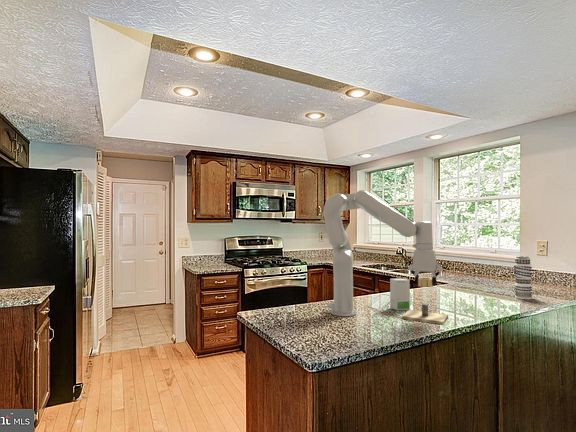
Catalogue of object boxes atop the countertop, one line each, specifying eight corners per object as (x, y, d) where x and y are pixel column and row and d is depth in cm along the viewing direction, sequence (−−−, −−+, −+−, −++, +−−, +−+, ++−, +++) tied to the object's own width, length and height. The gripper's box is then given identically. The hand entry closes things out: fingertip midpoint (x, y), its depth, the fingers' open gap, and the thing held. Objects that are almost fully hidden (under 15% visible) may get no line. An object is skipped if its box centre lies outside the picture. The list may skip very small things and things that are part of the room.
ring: (416, 286, 162) (416, 279, 162) (420, 284, 167) (419, 277, 168) (431, 287, 158) (431, 279, 158) (434, 285, 164) (434, 278, 164)
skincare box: (396, 310, 177) (396, 280, 177) (389, 307, 183) (389, 278, 183) (410, 309, 179) (410, 279, 179) (403, 306, 185) (402, 277, 186)
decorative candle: (517, 298, 204) (516, 256, 204) (512, 295, 212) (511, 255, 213) (535, 299, 201) (534, 257, 202) (529, 296, 210) (528, 255, 210)
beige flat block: (401, 318, 162) (401, 305, 162) (409, 312, 173) (409, 299, 174) (443, 324, 152) (442, 310, 152) (448, 317, 164) (448, 304, 164)
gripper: (403, 247, 165) (405, 284, 165) (442, 247, 156) (444, 287, 155) (407, 246, 171) (408, 282, 171) (445, 246, 162) (446, 285, 161)
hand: (425, 284), depth 163 cm, fingers closed on ring, 6 cm apart
